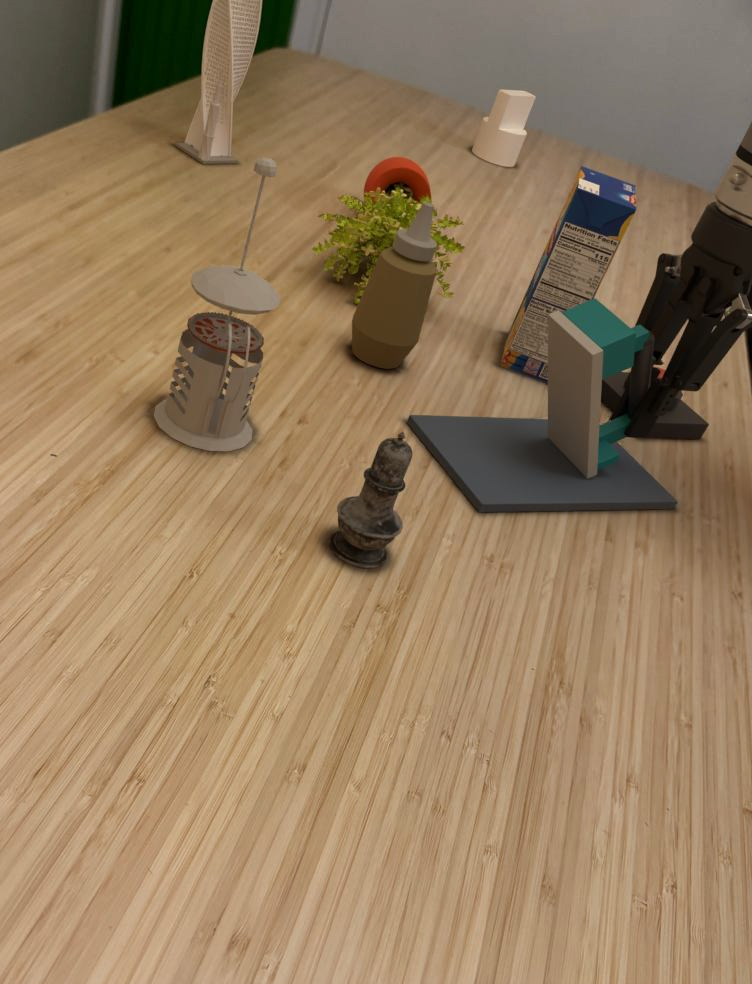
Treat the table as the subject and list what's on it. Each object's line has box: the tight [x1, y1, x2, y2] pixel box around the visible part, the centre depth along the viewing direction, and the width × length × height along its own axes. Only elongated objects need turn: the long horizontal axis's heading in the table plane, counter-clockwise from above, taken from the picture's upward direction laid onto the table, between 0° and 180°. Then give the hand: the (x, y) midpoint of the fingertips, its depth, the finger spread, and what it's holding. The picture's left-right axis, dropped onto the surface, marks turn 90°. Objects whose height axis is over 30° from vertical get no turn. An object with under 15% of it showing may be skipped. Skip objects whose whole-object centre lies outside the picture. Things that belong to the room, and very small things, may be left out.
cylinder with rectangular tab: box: [471, 89, 537, 168], centre depth 202 cm, size 9×9×12 cm
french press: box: [153, 156, 281, 452], centre depth 92 cm, size 10×12×25 cm
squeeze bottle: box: [351, 202, 438, 370], centre depth 116 cm, size 8×8×18 cm
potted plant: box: [311, 156, 466, 305], centre depth 143 cm, size 19×14×45 cm
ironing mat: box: [406, 414, 679, 513], centre depth 112 cm, size 16×26×1 cm, turn 112°
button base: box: [601, 371, 710, 440], centre depth 129 cm, size 12×10×4 cm
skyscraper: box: [174, 0, 263, 165], centre depth 153 cm, size 8×8×28 cm
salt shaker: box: [328, 431, 414, 569], centre depth 87 cm, size 6×6×12 cm
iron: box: [547, 297, 654, 479], centre depth 107 cm, size 16×8×10 cm
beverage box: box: [500, 165, 637, 384], centre depth 126 cm, size 7×11×22 cm, turn 164°
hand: (627, 428), depth 113 cm, fingers closed on iron, 2 cm apart
